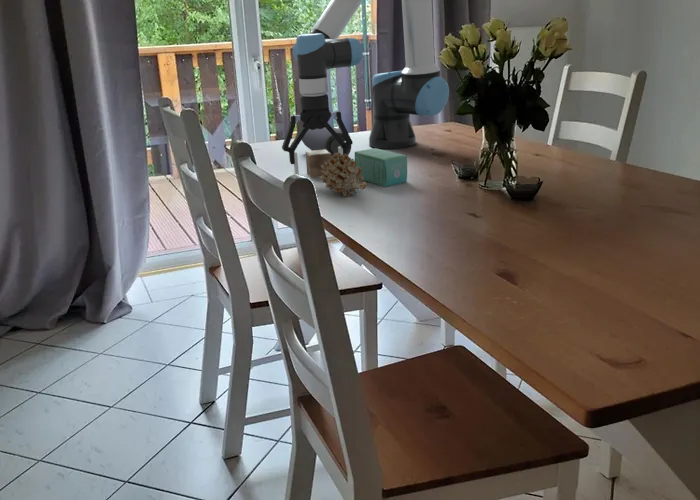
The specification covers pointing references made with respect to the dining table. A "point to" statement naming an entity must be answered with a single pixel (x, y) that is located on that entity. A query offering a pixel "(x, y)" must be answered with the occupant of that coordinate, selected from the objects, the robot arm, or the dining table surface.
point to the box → (382, 166)
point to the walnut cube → (316, 161)
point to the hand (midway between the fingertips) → (319, 173)
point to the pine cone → (342, 174)
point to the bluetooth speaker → (323, 140)
